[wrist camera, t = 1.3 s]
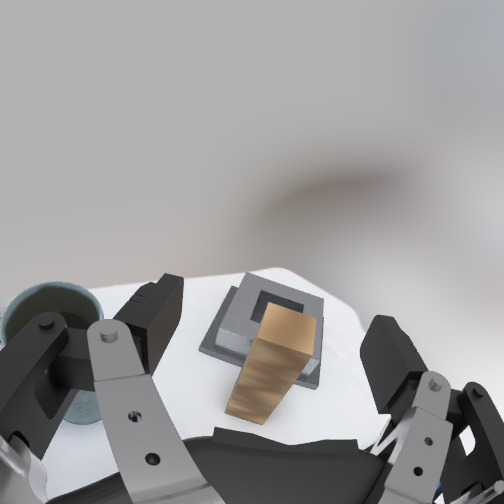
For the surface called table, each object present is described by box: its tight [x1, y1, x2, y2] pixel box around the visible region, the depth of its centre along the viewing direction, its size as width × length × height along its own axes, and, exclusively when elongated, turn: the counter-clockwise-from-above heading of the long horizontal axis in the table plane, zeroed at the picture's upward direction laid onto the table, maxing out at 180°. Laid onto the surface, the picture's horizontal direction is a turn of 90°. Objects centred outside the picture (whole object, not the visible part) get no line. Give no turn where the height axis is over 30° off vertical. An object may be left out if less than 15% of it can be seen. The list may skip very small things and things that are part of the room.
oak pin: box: [225, 302, 316, 425], centre depth 25 cm, size 4×4×14 cm
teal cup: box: [0, 281, 104, 424], centre depth 20 cm, size 10×10×12 cm
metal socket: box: [199, 272, 324, 389], centre depth 37 cm, size 16×14×5 cm
